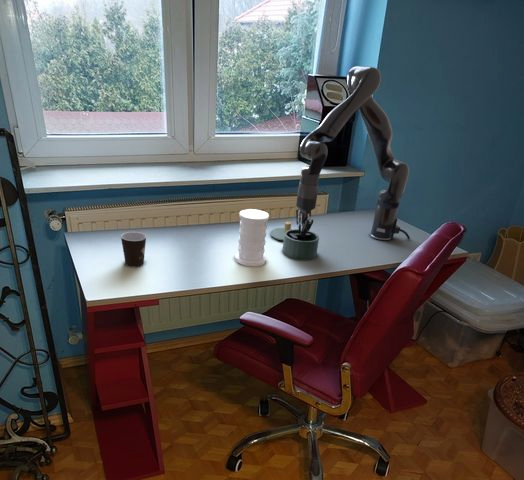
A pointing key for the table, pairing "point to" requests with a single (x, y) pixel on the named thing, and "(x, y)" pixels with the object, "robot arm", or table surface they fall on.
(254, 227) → the decorative container
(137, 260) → the coffee mug
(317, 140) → the robot arm
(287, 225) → the tin lid
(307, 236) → the hex key
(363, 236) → the table surface
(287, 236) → the tin
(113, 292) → the table surface
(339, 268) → the table surface
